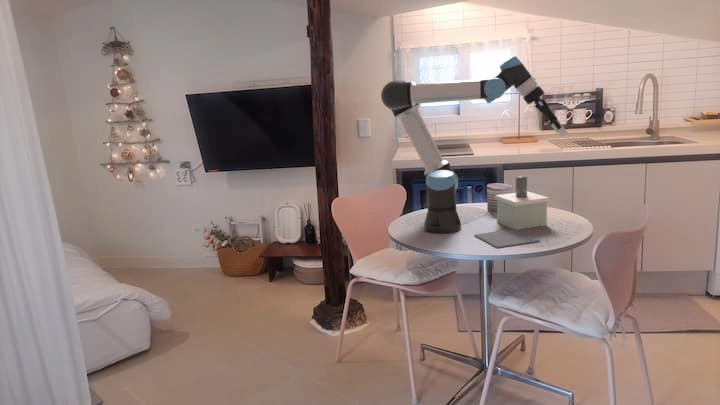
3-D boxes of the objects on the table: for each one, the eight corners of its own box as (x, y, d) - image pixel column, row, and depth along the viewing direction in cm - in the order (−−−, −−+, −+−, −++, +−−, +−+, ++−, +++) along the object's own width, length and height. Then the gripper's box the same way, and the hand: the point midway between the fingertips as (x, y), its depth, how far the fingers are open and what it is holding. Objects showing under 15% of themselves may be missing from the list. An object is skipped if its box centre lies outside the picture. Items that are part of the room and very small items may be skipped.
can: (500, 206, 231) (500, 181, 229) (518, 210, 221) (518, 184, 219) (481, 210, 226) (481, 185, 224) (499, 214, 216) (498, 188, 214)
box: (515, 230, 192) (515, 205, 190) (497, 222, 205) (497, 198, 203) (546, 225, 195) (547, 201, 193) (526, 217, 208) (526, 195, 206)
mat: (496, 248, 172) (496, 246, 172) (474, 235, 188) (474, 234, 188) (539, 241, 176) (539, 240, 176) (513, 230, 192) (513, 228, 192)
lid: (515, 207, 189) (514, 181, 187) (495, 200, 204) (495, 176, 201) (548, 203, 193) (549, 177, 191) (527, 196, 207) (527, 172, 205)
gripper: (541, 85, 181) (575, 130, 181) (536, 84, 204) (566, 124, 205) (523, 98, 183) (558, 142, 184) (520, 96, 207) (551, 135, 207)
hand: (562, 133), depth 194 cm, fingers open, 13 cm apart
